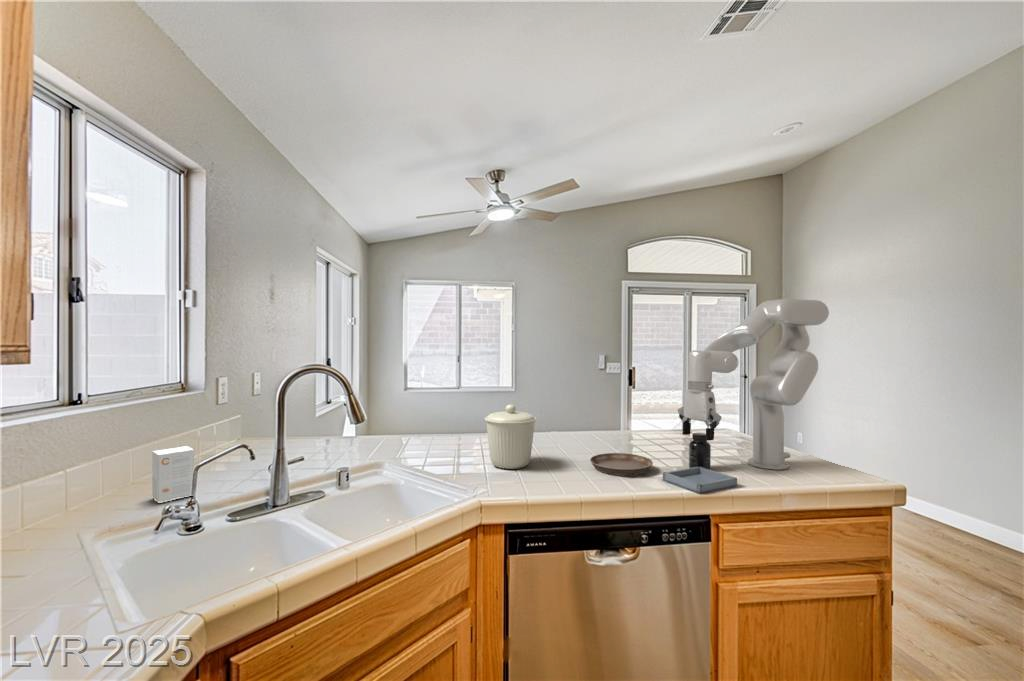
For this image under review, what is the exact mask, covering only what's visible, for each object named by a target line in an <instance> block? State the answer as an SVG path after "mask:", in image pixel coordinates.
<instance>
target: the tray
mask: <svg viewBox="0 0 1024 681" xmlns="http://www.w3.org/2000/svg"><path fill="white" fill-rule="evenodd" d="M662 481H663V482H665V481H666V482H665V483H668V484H671V485H674V486H676V487H679V488H681V489H685V490H687V491H689V492H693V493H695V494H699V495H701V494H706V493H711V492H712V493H713V492H717V491H722V490H725V489H732V488H736V487H738V477H735V476H732V475H728V474H725V473H722V472H718V471H715V470H712V469H710V470H709V469H706V468H702V467H693V468H689V467H687V468H683V469H682V468H681V469H674V470H669V471H664V472H662ZM731 487H732V488H731Z"/></svg>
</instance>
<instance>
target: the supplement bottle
mask: <svg viewBox="0 0 1024 681" xmlns="http://www.w3.org/2000/svg"><path fill="white" fill-rule="evenodd" d="M691 434H692V438H691V440H690V442H689V443H688V444H689V445H688V468H693V467H702V468H706V469H709V470H711V461H712V460H711V457H712V453H711V451H712V446H711V444H710V442H708V441H707V440H706V433H703V432H693V433H691Z"/></svg>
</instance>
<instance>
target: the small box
mask: <svg viewBox="0 0 1024 681" xmlns="http://www.w3.org/2000/svg"><path fill="white" fill-rule="evenodd" d="M151 458H152V459H151V460H152V463H151V464H152V465H151V467H152V468H151V469H152V471H151V472H152V475H151V476H152V481H151V482H152V486H151V487H152V490H151V491H152V492H151V493H152V495H151V496H153V497H154V498H155V499H156V500H157V501H165V500H170V499H173V498H177V497H185V496H190V494H191V488H192V479H193V473H194V474H195V449H193V448H192V447H190V446H188V445H183V446H179V447H172V448H165V449H159V450H152V456H151Z"/></svg>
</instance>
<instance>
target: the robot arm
mask: <svg viewBox="0 0 1024 681" xmlns="http://www.w3.org/2000/svg"><path fill="white" fill-rule="evenodd" d="M829 314H830V312H829V308H828V305H826V303H824V302H823V301H821V300H817V299H797V298H796V299H794V298H780V299H771V300H766V301H763V302H761V303H760V304H759V305H758V306H756V307H755V308H754V310H753V311H752V312H750V314H749V315H747V317H745V318H744V320H742V321H741V322H740V324H738V325H737V326H736V327H734V328H731V329H730V330H728V331H726V333H724V334H722V335H720V336H719V337H717V338H715V339H714V340H713V341H712V342H711V343H710V344H708V346H707V347H706V348H705V349H704V350H691V351H690V352H689V353H688V366H687V367H688V368H687V369H688V371H687V372H688V373H687V374H688V375H687V389H686V391H685V395H684V401H683V405H682V407H680V408H678V409H677V413H678V417H679V419H680V422H681V423H682V435H683V436H686V435H691V432H692V431H691V430H692V428H691V427H692V426H691V424H692V423H691V420H693V421H698V422H704V423H705V425H706V427H707V428H705V434H706V440H707V442H708V441H714V440H715V429H716V428H717V427H718V426H719V425H720V422H721V420H722V418H723V417H722V415H720V414H719V413H718V412H717V410H716V406H717V405H716V397H715V394H714V392H713V391H712V390H713V389H714V388H715V385H713V383H712V382H713V373H720V374H729V373H731V372H734V371H735V370H737V369H738V366H739V358H738V356H737V355H736V354H735V353H734V352H736V351H738V350H741V349H746V348H748V347H751V346H754V345H756V344H757V343H759V342H760V341H762V339H763V338H764V337H765V336H766V335H767V334H768V333H769V331H771V330H772V329H773V328H774V327H775V326H776V325H781V327H782V331H783V333H782V334H783V336H782V338H781V340H780V342H779V343H778V346H776V349H775V351H774V353H773V354H772V356H771V357H770V359H769V362H768V370H769V371H770V372H771V373H772V374H773V375H770V374H768V375H767V374H766V375H765V374H763V375H759V376H757V377H754V379H753V380H752V381H751V383H750V386H749V387H750V388H749V391H750V398H751V403H752V418H753V419H752V457H750V458H748V459H747V464H748V465H750V466H752V467H755V468H756V467H757V468H758V469H759V468H760V469H765V470H766V469H767V470H775V471H776V470H777V471H778V470H779V471H781V470H782V471H783V469H784V470H787V469H789V468H790V464H789V463H788V462H786V461H785V460H786V459H789V458H791V453H790V452H788V451H787V452H785V451H784V450H785V449H784V448H785V445H784V444H785V443H784V442H785V415H784V410H783V408H782V406H786V407H790V406H791V407H792V406H796V405H797V404H799V403H800V402H801V401H802V399H803V398H804V397H805V395H806V393H807V391H808V389H809V388H810V386H811V384H812V383H813V381H814V380H815V377H816V376H817V373H818V370H819V360H818V359H817V356H816V355H815V354H814V353H812V352H810V351H808V348H809V346H810V343H811V342H810V341H811V340H810V335H809V333H808V331H807V329H806V326H819V325H822V324H823V323H825V322H826V321H827V319H828V317H829Z"/></svg>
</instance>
